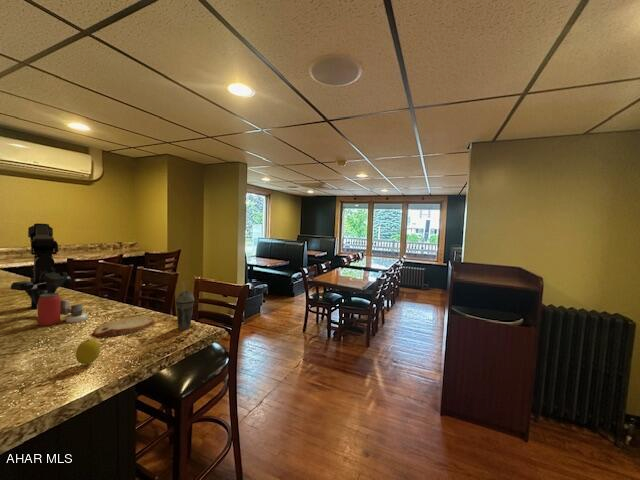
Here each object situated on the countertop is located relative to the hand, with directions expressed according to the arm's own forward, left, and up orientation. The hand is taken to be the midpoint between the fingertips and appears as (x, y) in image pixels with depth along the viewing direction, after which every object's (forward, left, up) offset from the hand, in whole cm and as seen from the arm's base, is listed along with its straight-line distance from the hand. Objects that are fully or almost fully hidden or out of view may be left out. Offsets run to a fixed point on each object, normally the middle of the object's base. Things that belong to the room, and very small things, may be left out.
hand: (42, 301), depth 118 cm
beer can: (+11, +9, -6) cm, 15 cm away
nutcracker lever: (+4, +8, -4) cm, 10 cm away
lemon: (+50, +40, -6) cm, 64 cm away
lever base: (+8, +16, -6) cm, 19 cm away
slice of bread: (+19, +39, -7) cm, 44 cm away
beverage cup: (+22, +61, -6) cm, 65 cm away
